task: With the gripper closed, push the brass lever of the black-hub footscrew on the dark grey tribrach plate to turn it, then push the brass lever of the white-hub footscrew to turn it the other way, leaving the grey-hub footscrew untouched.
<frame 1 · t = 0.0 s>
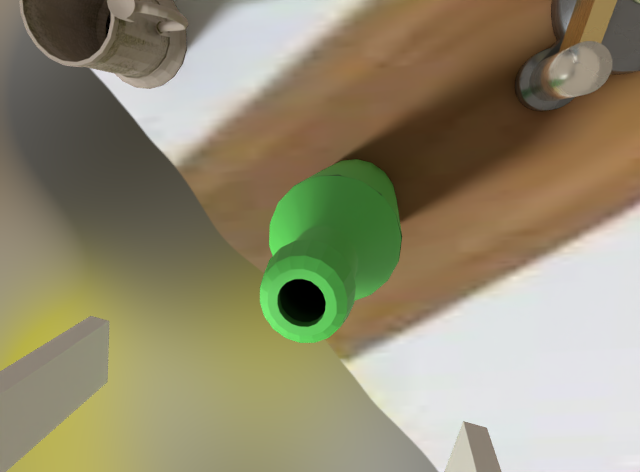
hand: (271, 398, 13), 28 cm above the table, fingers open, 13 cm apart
mug: (163, 39, 39), on the table
bottle: (353, 200, 40), on the table
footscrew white: (588, 12, 28), point 4 cm above the table, hinge at 0.0°
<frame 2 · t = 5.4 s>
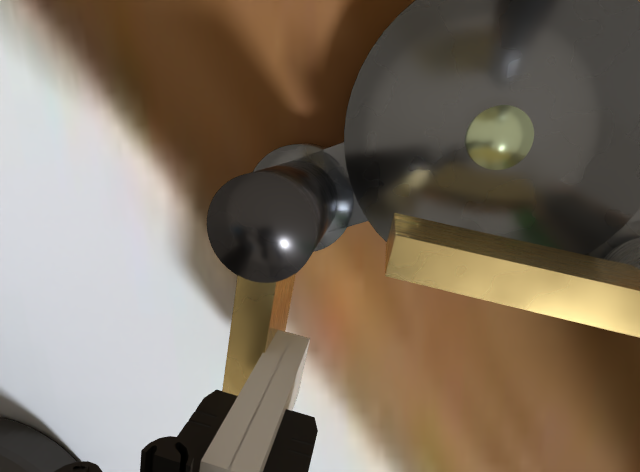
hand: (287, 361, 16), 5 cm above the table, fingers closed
tribrach plate: (485, 137, 16), on the table
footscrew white: (562, 276, 13), point 4 cm above the table, hinge at 0.0°
footscrew black: (266, 312, 16), point 4 cm above the table, hinge at 0.0°, touching gripper
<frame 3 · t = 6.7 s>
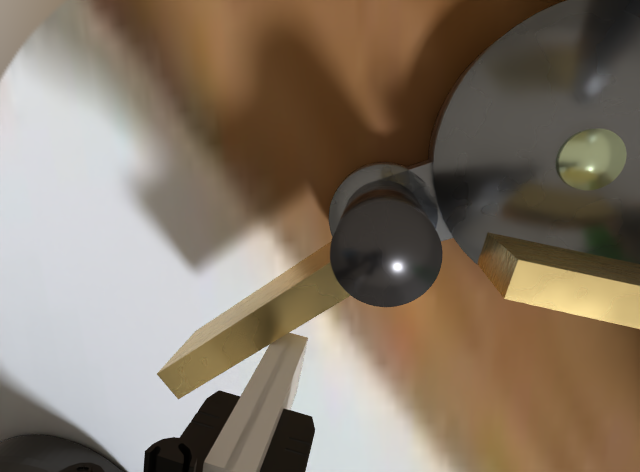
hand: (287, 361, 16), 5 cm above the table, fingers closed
tribrach plate: (564, 156, 17), on the table
footscrew black: (296, 289, 16), point 4 cm above the table, hinge at -43.4°, touching gripper
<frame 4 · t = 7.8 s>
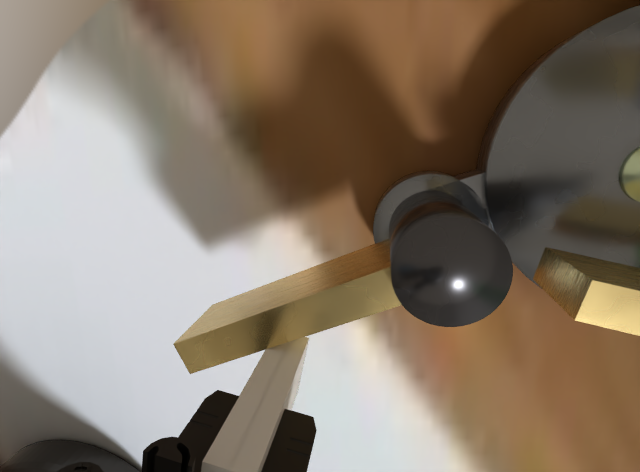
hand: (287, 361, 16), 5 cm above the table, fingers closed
tribrach plate: (622, 167, 16), on the table
footscrew black: (332, 285, 15), point 4 cm above the table, hinge at -54.8°, touching gripper
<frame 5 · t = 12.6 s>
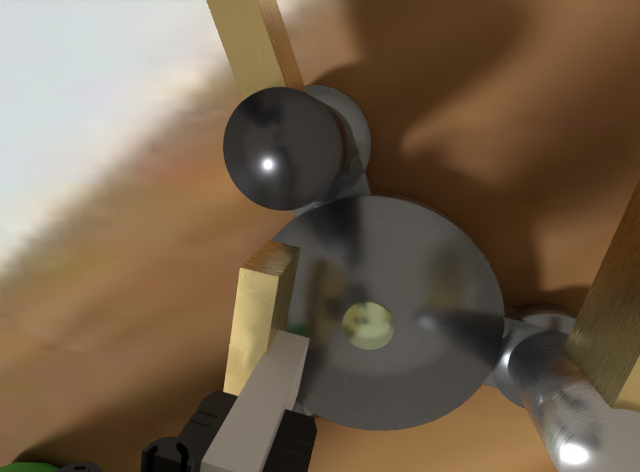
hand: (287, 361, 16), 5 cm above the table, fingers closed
tribrach plate: (369, 305, 20), on the table
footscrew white: (256, 380, 17), point 4 cm above the table, hinge at 0.8°, touching gripper
footscrew black: (257, 24, 13), point 4 cm above the table, hinge at -59.0°
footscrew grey: (628, 308, 13), point 4 cm above the table, hinge at 0.0°
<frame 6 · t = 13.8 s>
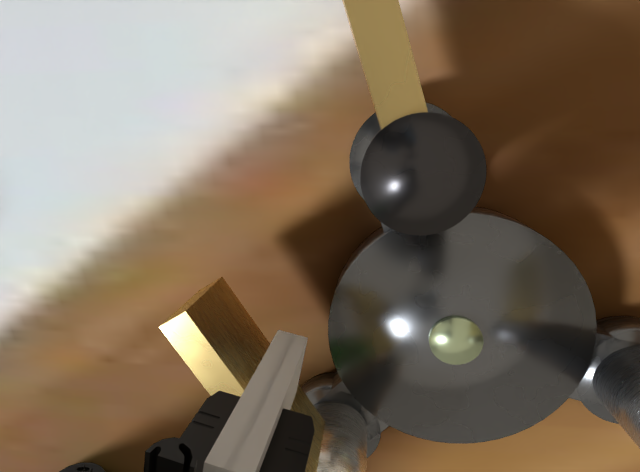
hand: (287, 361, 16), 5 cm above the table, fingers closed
tribrach plate: (447, 318, 20), on the table
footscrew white: (277, 402, 17), point 4 cm above the table, hinge at 44.8°, touching gripper
footscrew black: (377, 43, 13), point 4 cm above the table, hinge at -59.0°
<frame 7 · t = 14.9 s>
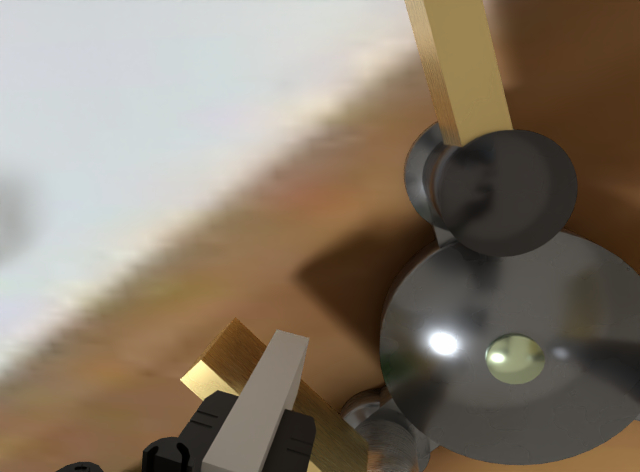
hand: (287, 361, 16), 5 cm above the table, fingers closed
tribrach plate: (500, 334, 19), on the table
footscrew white: (314, 432, 17), point 4 cm above the table, hinge at 57.4°, touching gripper
footscrew black: (449, 56, 12), point 4 cm above the table, hinge at -59.0°
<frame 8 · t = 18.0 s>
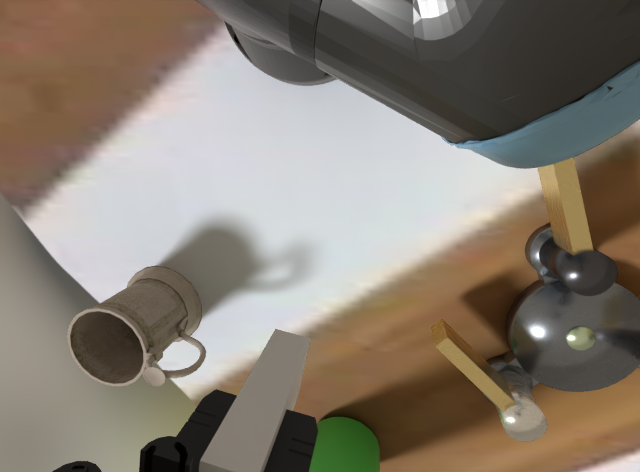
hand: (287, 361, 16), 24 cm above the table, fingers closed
tribrach plate: (570, 327, 38), on the table
mug: (181, 307, 45), on the table
bottle: (344, 440, 46), on the table
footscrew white: (483, 373, 36), point 4 cm above the table, hinge at 58.1°
footscrew black: (563, 215, 31), point 4 cm above the table, hinge at -59.0°
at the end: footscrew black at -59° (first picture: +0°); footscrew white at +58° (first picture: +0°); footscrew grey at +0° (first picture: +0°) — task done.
